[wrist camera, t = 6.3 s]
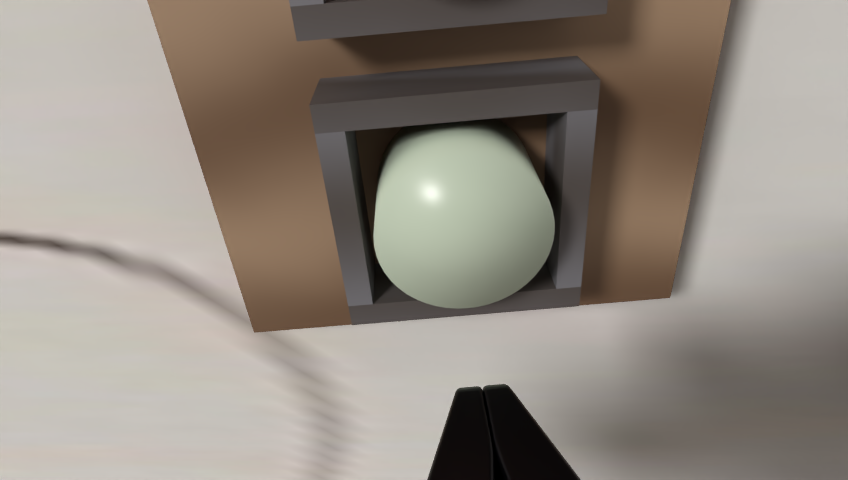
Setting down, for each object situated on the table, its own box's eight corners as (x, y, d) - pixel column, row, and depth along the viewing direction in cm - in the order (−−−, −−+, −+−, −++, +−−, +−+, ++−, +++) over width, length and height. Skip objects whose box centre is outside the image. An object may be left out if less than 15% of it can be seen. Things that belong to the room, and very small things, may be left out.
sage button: (528, 239, 17) (550, 301, 15) (386, 251, 17) (384, 315, 15) (533, 101, 15) (559, 146, 12) (368, 115, 15) (361, 163, 13)
